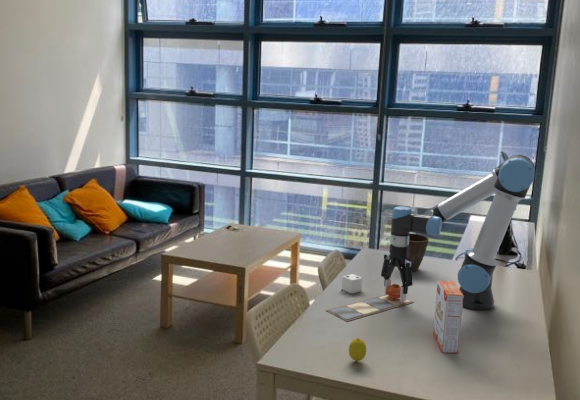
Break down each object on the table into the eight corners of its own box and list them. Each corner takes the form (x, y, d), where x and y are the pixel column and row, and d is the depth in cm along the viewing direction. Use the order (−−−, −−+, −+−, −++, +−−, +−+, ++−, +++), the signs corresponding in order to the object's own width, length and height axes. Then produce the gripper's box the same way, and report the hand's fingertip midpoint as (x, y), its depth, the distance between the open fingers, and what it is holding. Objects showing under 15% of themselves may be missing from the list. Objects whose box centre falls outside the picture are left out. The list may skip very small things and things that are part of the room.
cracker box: (431, 335, 205) (437, 279, 201) (448, 335, 205) (454, 280, 201) (440, 353, 192) (446, 293, 187) (458, 354, 191) (464, 294, 187)
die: (361, 291, 246) (362, 277, 245) (351, 293, 243) (352, 280, 242) (351, 286, 251) (352, 273, 250) (341, 289, 247) (342, 276, 246)
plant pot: (393, 263, 287) (396, 232, 284) (424, 265, 285) (427, 234, 282) (395, 272, 273) (397, 240, 269) (426, 275, 271) (430, 242, 268)
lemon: (346, 357, 186) (348, 334, 184) (363, 357, 186) (365, 334, 184) (349, 365, 180) (351, 342, 179) (367, 365, 181) (368, 342, 179)
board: (413, 302, 236) (413, 301, 235) (346, 321, 214) (347, 320, 214) (392, 293, 245) (392, 292, 245) (326, 310, 223) (326, 309, 223)
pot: (403, 295, 241) (405, 281, 238) (404, 306, 234) (406, 292, 231) (384, 293, 242) (386, 279, 239) (384, 303, 235) (386, 290, 232)
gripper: (374, 239, 238) (370, 291, 243) (412, 252, 222) (407, 307, 227) (387, 237, 243) (383, 288, 247) (425, 249, 227) (420, 303, 231)
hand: (394, 297), depth 237 cm, fingers closed on pot, 8 cm apart
